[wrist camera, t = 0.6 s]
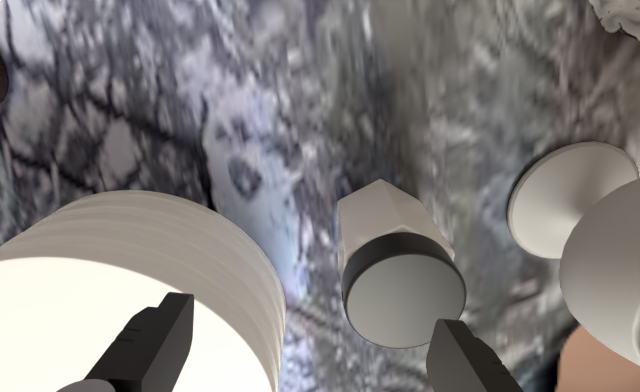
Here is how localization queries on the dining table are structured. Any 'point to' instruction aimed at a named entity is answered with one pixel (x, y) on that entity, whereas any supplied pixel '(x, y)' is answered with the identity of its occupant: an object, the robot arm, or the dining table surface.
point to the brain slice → (618, 16)
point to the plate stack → (137, 292)
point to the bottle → (3, 82)
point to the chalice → (587, 235)
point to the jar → (394, 267)
